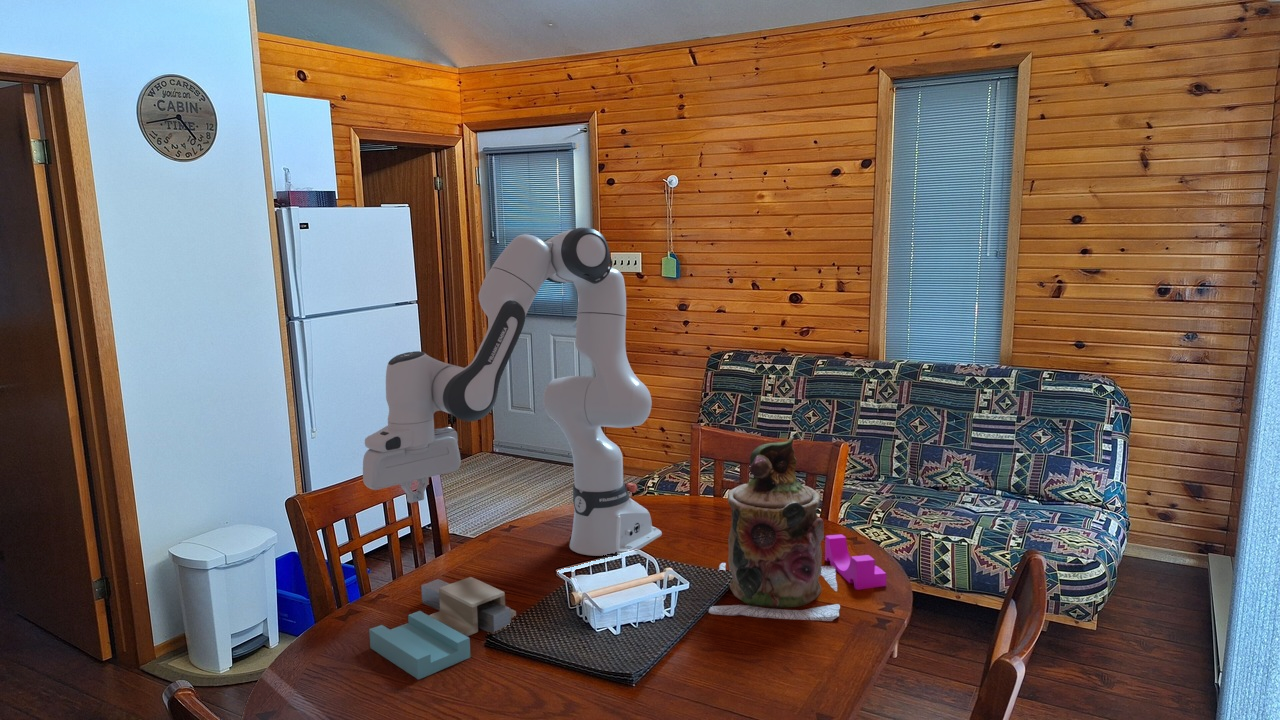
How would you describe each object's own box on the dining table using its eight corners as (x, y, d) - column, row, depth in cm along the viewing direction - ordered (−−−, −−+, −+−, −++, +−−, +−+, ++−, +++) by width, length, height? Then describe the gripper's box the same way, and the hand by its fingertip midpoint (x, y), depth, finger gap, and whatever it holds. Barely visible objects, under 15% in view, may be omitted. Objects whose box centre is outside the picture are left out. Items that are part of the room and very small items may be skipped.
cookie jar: (719, 568, 178) (718, 423, 174) (836, 575, 173) (838, 425, 169) (706, 619, 154) (704, 451, 150) (842, 628, 149) (844, 455, 145)
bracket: (482, 600, 164) (481, 573, 164) (516, 616, 157) (515, 588, 156) (429, 620, 156) (427, 591, 155) (462, 638, 148) (460, 608, 148)
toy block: (885, 595, 163) (886, 558, 162) (856, 598, 162) (856, 561, 161) (852, 566, 178) (852, 533, 177) (825, 569, 177) (825, 535, 176)
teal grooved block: (420, 628, 152) (419, 610, 152) (470, 657, 141) (469, 637, 141) (370, 648, 145) (369, 629, 145) (418, 679, 134) (417, 659, 134)
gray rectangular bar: (439, 597, 167) (438, 578, 166) (511, 628, 153) (510, 607, 152) (422, 604, 164) (421, 585, 163) (494, 636, 150) (493, 615, 149)
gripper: (447, 423, 174) (451, 486, 176) (356, 440, 160) (361, 509, 162) (464, 427, 170) (468, 492, 172) (372, 445, 156) (377, 516, 157)
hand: (415, 501), depth 167 cm, fingers closed
